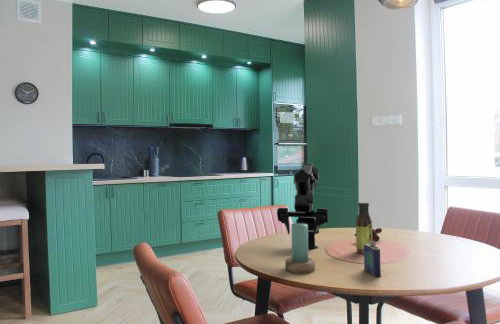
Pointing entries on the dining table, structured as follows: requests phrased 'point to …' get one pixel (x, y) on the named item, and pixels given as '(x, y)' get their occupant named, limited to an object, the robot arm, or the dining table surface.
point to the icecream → (375, 234)
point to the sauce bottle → (363, 227)
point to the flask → (372, 259)
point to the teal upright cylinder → (299, 242)
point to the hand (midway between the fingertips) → (301, 234)
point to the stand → (300, 266)
